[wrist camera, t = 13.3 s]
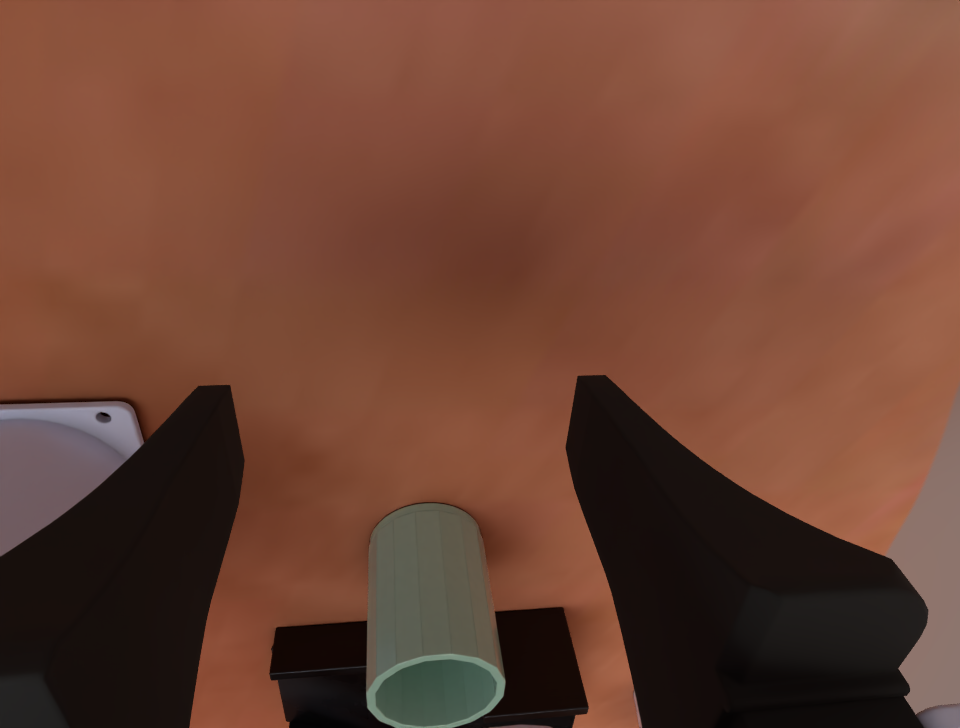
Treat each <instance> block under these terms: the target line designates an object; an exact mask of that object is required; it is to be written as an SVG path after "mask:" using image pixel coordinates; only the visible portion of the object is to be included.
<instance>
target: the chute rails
mask: <svg viewBox="0 0 960 728" xmlns="http://www.w3.org/2000/svg"><path fill="white" fill-rule="evenodd" d="M495 617H496V624H497V630H498V636H499V643H500V649H501V655H502V661H503V668H504V674H505V680H506V683H505V690H504V696H503V698H502V699H501V700H500V701H499V702H498V704H497V705H496V706H495V707H494V708H493V710H491V711H490V712H488V713H487V714H485V715H483V722H484V723H496V722H506V721H517V720H528V719H538V718H549V717H560V716H570V715H581V714H587V712H588V709H589V706H588V702H587V698H586V695H585V691H584V687H583V683H582V679H581V675H580V671H579V667H578V663H577V659H576V656H575V652H574V648H573V644H572V640H571V636H570V632H569V628H568V624H567V620H566V616H565V613H564V609H563V608H553V609H540V610H526V611H512V612H498V613H495ZM366 671H367V622H359V623H346V624H332V625H318V626H304V627H290V628H277V629H276V631H275V638H274V645H273V652H272V659H271V666H270V673H269V674H270V679H271V680H284V679H296V678H308V677H321V676H333V675H345V674H357V673H366ZM289 728H322V727H316V726H310V725H304V724H299V723H293V722H290V724H289Z"/></svg>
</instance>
